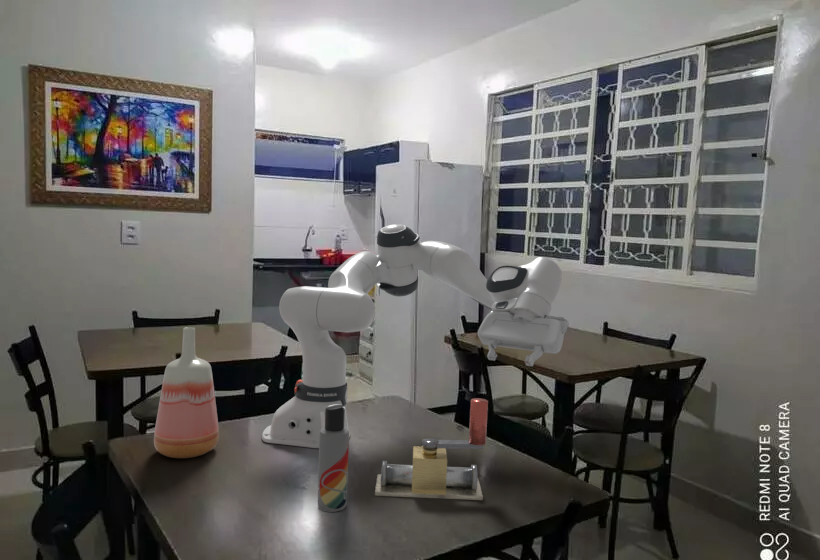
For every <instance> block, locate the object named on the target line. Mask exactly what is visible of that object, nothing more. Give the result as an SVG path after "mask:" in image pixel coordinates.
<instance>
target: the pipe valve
mask: <svg viewBox="0 0 820 560" xmlns="http://www.w3.org/2000/svg"><path fill="white" fill-rule="evenodd" d="M380 468H381V469H380V472H381V473H380V474H377V476H376V477H377V478H376V483H375V489H374V496H377V497H400V498H401V497H402V498H419V499H420V498H422V499H423V498H424V499H425V498H427V499H447V500H466V501H468V500H470V501H471V500H472V501H473V500H474V501H483V500H484V495H483V492H482V488H481V484H480V481H479V478H478V477H479V476H478V466H477V464H470V467H464V466H463V467H462V466H448V454H447V449H446V448H438V449H435V450H428V449H424V448H422V446H420V445H419V446H417V445H416V446H415V445H413V447H412V464H393V463H388V461H387V460H382V461H381V467H380Z"/></svg>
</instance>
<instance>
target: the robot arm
mask: <svg viewBox="0 0 820 560" xmlns="http://www.w3.org/2000/svg"><path fill="white" fill-rule="evenodd" d="M376 243H377V247H378V248H377V250H378V251H377V252H378V253H377V254H375V252H373V251H369V250H363V251H359V252H357V253H355V254H353V255H351V256H350V257H348V258H347V259H345V260H344V262H342V264H340V265H339V266H338V267H337V268H336V269H335V270H334V271H333V272H332V273H331V275H330V276H329V278H328V282H327V283H328V284H327V287H325V286H324V287H323V286H321V287H320V286H308V285H304V286H296V287H291V288H287V290H285V291H284V292H283V294H282V296H281V297H280V300H279V302H278V303H279V305H278V309H279V310H278V311H279V315H280V317H281V319H282V321H283V322H284V324H286V325H287V326H288V327H290V329H291V330H292V331H293V333H294V334H295V336H296V338H297V341H298V343H299V345H300V349H301V355H302V379H298V380H296V383H295V385H294V396H293V397H292V398H291V399H288V401H286V402H285V403H284V404H282V405H281V406H279V408H278V409H276V411H275V412H274V414H273V417H272V421H271V424H270V425H267V426H266V428H265V429H263V432H262V435H261V436H262V437H261V439H262V441H263V442H264V443H268V444H277V445H287V446H293V447H294V446H295V447H303V448H311V449H319V436H320V430H321V429H322V428H324V427H325V408H327V407H328V406H331V405H343V407H344V408H345V423H344V427H345V428H347V429H348V430H349V438H350V437H351V433H350V429H349V424H348V418H347V417H348V416H347V403H348V392H349V391H348V383H347V379H346V378H347V354H346V352H345V350H344V349H343V348H342V347H341V346H340V345H338V344H337V343H335V342H334V340H333V339H332V338H331V336H330V333H329V331H330V332H338V333H339V332H340V333H355V332H356V333H357V332H362V331H366V330H367V329H368V328H369V327H371V325H372V323H373V322H374V319H375V314H376V308H375V303H374V301H373V299H372V297H371V296H370V295H369V293H370V292H371V291H372V289H373V288H374V287H375V285H377V287H378V288H379V289H380V290H381V291H384V292H385V293H387V294H389V295H390V296H393V297H407V296H409V295H411V294H413V293H414V292H415V291H417V289H418V285H419V276H418V271H422V272H423V273H425V274H427V275H428V276H429V277H431V278H432V279H435V280H437V281H438V282H441V283H443V284H445V285H447V286H449V287H450V288H453V289H455V290H456V291H458V292H460V293H462V295H463V294H464V295H465V296H467V297H469V298H470V299H472V300H473V301H474V302H476V303H478V304H480V305H481V306H484V307H485V308H487V309H488V310H490V312H489V313H487V314H486V316H485V317H484V318H483V320H482V322H481V323H480V326H479V327H478V329H477V337H478V338H479V341H480V342H481V344H482V345H485V346H488V347H487V348H488V352H487V355H486V357H487V360H489V361H494V362H495V361H496V359H497V358H498V354H497V353H496V351H495V350H496V349H497V348H498V347H500V348H501V347H502V348H507V349H508V348H509V349H514V350H515V349H516V350H522V351H530V352H532V353H531V354H530V355H528V354H527V355H526V356H525V359H524V364H525V366H528V367H533V366H534V364H535V362H536V361H537V360H538V359H539V358H541V357H542V356H543V354H544V353H546V354H553V355H554V354H555V355H556V354H558V353H559V352H560V351H561V350H562V347H563V345H564V343H563V342H564V337H565V333H566V332H567V331H568V327H569V325H570V324H569V320H568V319H566V318H565V317H564V316H554V315H550V313H551V310H552V304H553V302H554V301H555V299H556V298H557V296H558V294H559V290H560V287H561V284H562V278H563V272H562V270H561V268H560V266H559V265H558V263H556V262H555V261H554V260H553V259H551V258H548V257H544V256H539V257H536V258H534V259H533V260H532V261H530V262H528V263H525V264H521V265H517V266H516V265H501V266H498V267H497V268H495V269H494V270H493V271H492V272H491V273H490V274H489V276H488V278H486V277H485V275H484V274H483V273H482V270H481V269H480V268H479V266H478V265H477V263H476V262H475V261H474V259H473V257H472V256H471V255H470V254H469V253H468V252H466V250H464V249H463V248H461V247H459V246H457V245H454V244H451V243H449V242H444V241H440V240H439V241H438V240H425V241H420V235H419V233H416V232H414V231H413V230H412V229H411V228H410V227H408V226H407V225H404V224H400V223H399V224H396V223H392V224H388V225H386V226H383V227H382V228H380V229H379V230H378V232H377V236H376Z"/></svg>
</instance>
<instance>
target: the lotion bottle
mask: <svg viewBox="0 0 820 560" xmlns="http://www.w3.org/2000/svg"><path fill="white" fill-rule="evenodd" d="M344 423H345V408H344V407H343V405H331V406H328V407H327V408H325V427H324V428H322V429H321V430H320V436H319V448H318V472H317V473H318V476H317V507H318V509H320V510H321V511H323V512H329V513H334V512H336V513H337V512H340V511H344V509H345V508H346V507H347V505H348V503H347V502H348V481H349V479H348V477H349V474H348V473H349V446H350V445H349V444H350V437H349V432H350V429H349V430H348V429H347V428H345V427H344Z"/></svg>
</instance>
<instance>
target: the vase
mask: <svg viewBox="0 0 820 560" xmlns="http://www.w3.org/2000/svg"><path fill="white" fill-rule="evenodd" d="M161 385H162V386H161V392H160V397H159V403H158V407H157V415H156V421H155V427H154V434H153V446H154V448H155V450H156V451H157V452H158V453H159V454H160V455H162V456H165V457H168V458H172V459H191V458H196V457H199V456H202V455H205V454H207V453H209V452H211V451H212V450H213V449H214V448H216V446H217V445H218V443H219V439H220V430H219V429H220V428H219V422H218V421H219V420H218V419H219V418H218V412H217V411H218V410H217V404H216V396H215V386H214V378H213V371H212V366H211V364H210V362H208V361H207V360H205V359H204V358H200V357H198V356H197V354H196V327H190V326H188V327H183V328H182V346H181V355H180V357H179V358H177V359H174V360H173V361H171V362H168V364H167V365H166V367H165V369H164V375H163V380H162V384H161Z"/></svg>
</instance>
